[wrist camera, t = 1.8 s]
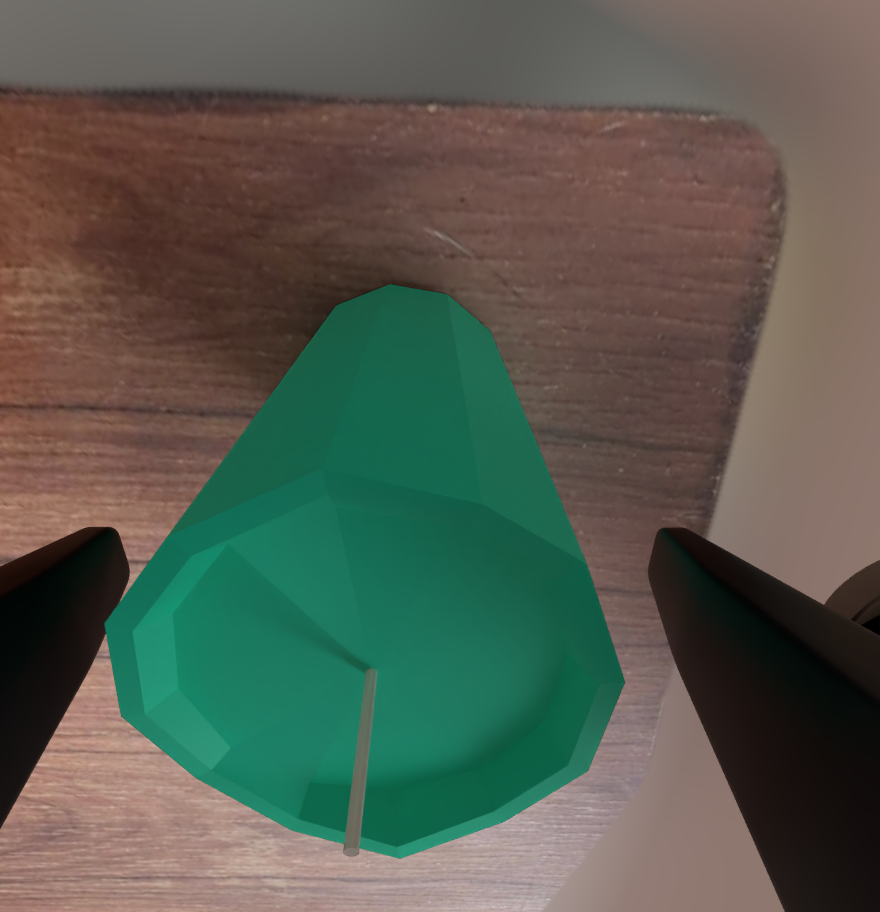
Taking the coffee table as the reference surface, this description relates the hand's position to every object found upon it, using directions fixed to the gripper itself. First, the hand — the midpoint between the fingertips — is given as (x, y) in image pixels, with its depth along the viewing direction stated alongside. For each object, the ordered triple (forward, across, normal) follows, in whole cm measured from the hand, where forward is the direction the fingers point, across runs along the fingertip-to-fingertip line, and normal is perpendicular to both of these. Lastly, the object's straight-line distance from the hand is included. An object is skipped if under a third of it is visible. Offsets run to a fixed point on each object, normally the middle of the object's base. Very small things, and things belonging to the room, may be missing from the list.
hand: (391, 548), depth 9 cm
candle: (+8, 0, 0) cm, 8 cm away
